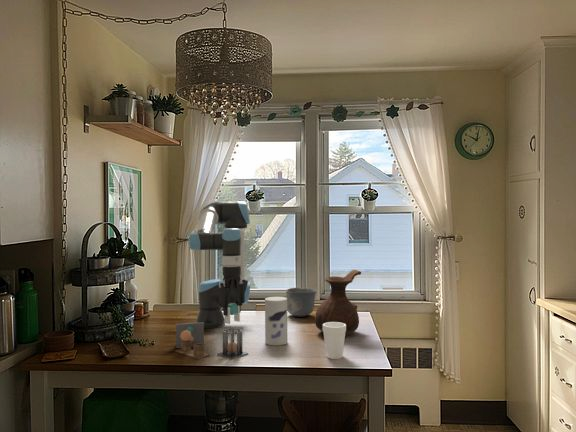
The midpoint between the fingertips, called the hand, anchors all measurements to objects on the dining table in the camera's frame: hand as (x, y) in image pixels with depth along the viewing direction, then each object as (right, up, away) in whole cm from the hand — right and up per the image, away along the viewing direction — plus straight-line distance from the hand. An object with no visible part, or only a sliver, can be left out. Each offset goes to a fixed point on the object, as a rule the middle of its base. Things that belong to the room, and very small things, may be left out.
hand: (232, 322), depth 198 cm
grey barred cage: (0, -14, 0) cm, 14 cm away
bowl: (+31, -13, +70) cm, 78 cm away
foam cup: (+42, -14, -3) cm, 44 cm away
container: (+18, -13, +18) cm, 29 cm away
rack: (-17, -14, +3) cm, 22 cm away
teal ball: (0, +5, 0) cm, 5 cm away
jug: (+47, -13, +33) cm, 59 cm away
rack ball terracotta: (-20, -7, +5) cm, 22 cm away
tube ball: (0, -11, 0) cm, 11 cm away
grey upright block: (-20, -14, +14) cm, 28 cm away
